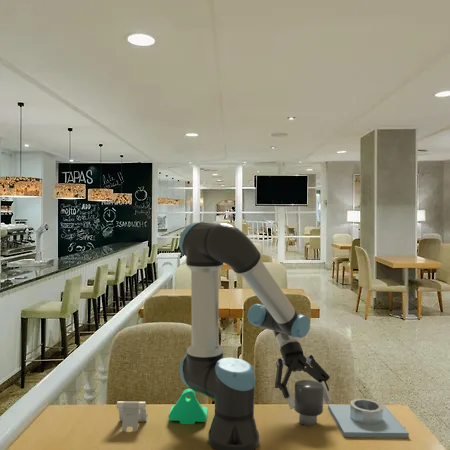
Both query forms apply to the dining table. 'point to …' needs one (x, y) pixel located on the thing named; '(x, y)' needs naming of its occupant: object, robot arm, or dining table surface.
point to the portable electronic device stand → (131, 413)
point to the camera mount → (188, 409)
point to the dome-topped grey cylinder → (308, 401)
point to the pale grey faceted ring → (366, 411)
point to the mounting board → (354, 429)
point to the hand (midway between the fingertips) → (311, 404)
